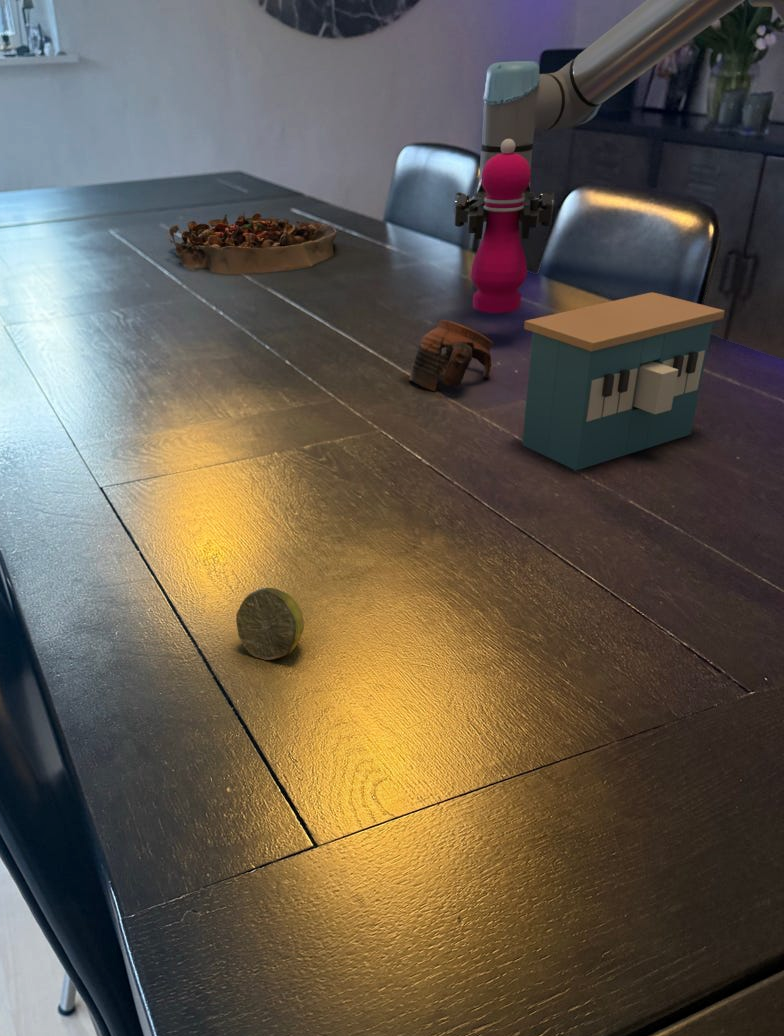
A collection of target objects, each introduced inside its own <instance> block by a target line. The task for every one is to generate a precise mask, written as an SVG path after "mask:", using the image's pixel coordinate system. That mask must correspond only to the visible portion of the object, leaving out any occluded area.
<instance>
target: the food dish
mask: <svg viewBox="0 0 784 1036" xmlns="http://www.w3.org/2000/svg"><path fill="white" fill-rule="evenodd" d="M245 214H246V213H245V212H243V215H242V214H239V215H238V217H237V218H236V221H235V222H234V223H232V224H230V223H229V221H228V219H227V217H228V214H226V213H225V214H224V217H223V218H222V219H221V218H216V219H210V220H208V221H207V222H208V223H202V222H201V223H197V222H196V221H195V220H192V221H189V222H188V223H187V229H188V231H187V230H184V231H182V232H181V237H180V238H181V240H182V242H177V241H176V239H175V234H177V233H178V231H180V226H179V225H174V226H171V227H170V228H169V229H168V231H169V235H170V237H171V238H172V239H171V238H170V237H169V236H168V235H167V234H165V237H166V238H167V240H168V241H169V242H170V243H171V244H174V247H175V252H176V257H177V258H178V259H179V263H180V264H181V265H182V267H183V268H185V269H188V270H189V271H194V272H195V270H196V269H208V270H209V272H212V273H214V274H223V275H245V274H266V273H267V274H268V273H276V272H286V271H293V270H299V269H304V268H305V269H306V268H311V267H312V266H314V265H316V264H318V263H320V262H323V261H326V260H327V259H329V258H332V257H333V256H334V242H335V239H336V236H337V235H338V230H337V229H336V228H335V227H333V226H330V225H329V224H326V223H321V222H315V221H302V220H298V221H295V223H296V224H298V226H295V225H294V224H292V223H290V222H291V220H290V219H288V218H285V219H284V220H281V218H262V215H261V213H259V212H256V213H255V212H254V214H252V216H251V217H247V218H246V216H245Z"/></svg>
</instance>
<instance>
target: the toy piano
mask: <svg viewBox="0 0 784 1036" xmlns="http://www.w3.org/2000/svg"><path fill="white" fill-rule="evenodd" d="M724 315H725V310H724V309H721V308H716V307H713V306H712V307H711V306H709V305H704V304H700V303H697V302H693V301H689V300H685V299H682V298H678V297H673V296H669V295H666V294H661V293H657V292H653V291H651V292H647V293H641V294H638V295H633V296H628V297H625V298H621V299H615V300H611V301H607V302H603V303H602V302H601V303H598V304H594V305H589V306H585V307H580V308H576V309H571V310H567V311H562V312H559V313H553V314H549V315H544V316H540V317H536V318H532V319H526V320H524V327H523V329H524V330H526V331H529V332H532V337H531V346H530V347H531V348H530V356H529V369H528V380H527V390H526V400H525V410H524V411H525V412H524V421H523V431H522V443H521V445H522V446H523V447H525V448H528V449H529V450H532V451H534V452H536V453H538V454H540V455H542V456H545V457H547V458H549V459H551V460H553V461H555V462H557V463H559V464H562V465H563V466H566V467H567V468H570V469H572V470H574V471H579V470H583V469H586V468H588V467H592V466H595V465H598V464H601V463H604V462H608V461H611V460H614V459H617V458H620V457H623V456H626V455H630V454H633V453H637V452H639V451H643V450H646V449H649V448H652V447H655V446H659V445H662V444H665V443H668V442H671V441H674V440H677V439H680V438H683V437H687V436H691V434H692V429H693V425H694V420H695V414H696V409H697V405H698V399H699V395H700V390H701V385H702V381H703V374H704V371H705V365H706V359H707V355H708V350H709V344H710V340H711V335H712V329H713V325H714V324H713V323H714V322H715V321H719V320H723V319H724ZM650 361H654V362H657V363H660V364H663V365H666V366H669V367H672V368H675V369H678V375H677V380H676V386H675V391H674V396H673V402H672V407H671V410H669V411H665V412H662V413H659V414H652V413H650V412H647V411H644V410H642V409H639V408H636V407H634V406H633V402H634V396H635V390H636V384H637V377H638V371H639V365H640V364H642V363H646V362H650Z"/></svg>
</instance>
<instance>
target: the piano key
mask: <svg viewBox="0 0 784 1036" xmlns="http://www.w3.org/2000/svg"><path fill="white" fill-rule="evenodd" d="M677 375H678V369H675V368H672V367H669V366H666V365H663V364H660V363H657V362H654V361H650V362H646V363H642V364H640V365H639V371H638V377H637V384H636V390H635V396H634V402H633V406H634V407H636V408H639V409H642V410H644V411H647V412H650V413H652V414H659V413H662V412H665V411H669V410H671V407H672V402H673V396H674V391H675V386H676V380H677Z"/></svg>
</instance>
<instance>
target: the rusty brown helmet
mask: <svg viewBox="0 0 784 1036" xmlns="http://www.w3.org/2000/svg"><path fill="white" fill-rule="evenodd" d="M493 346H494V342H493V341H492V340H491V339H489V338H488V337H487V336H485V335H483V334H482V333H479V332H478V331H476V330H473V329H472V328H470V327H468V326H465V325H462V324H460V323H458V322H455V321H452V320H451V321H450V320H448V319H439V320H438V321H437V325H436V327H435V328H433V329H431V330H429V331H428V332H426V334H425V335H423V337H422V339H421V340H420V341H419V346H418V348H417V349H416V354H415V359H414V361H413V362H412V364H411V366H410V374H409V376H410V377H409V378H408V380H409V381H410V382H412V383H414V384H415V385H418V386H419V387H422V388H424V389H426V390H429V391H432V392H436V391H437V388H438V383H439V382H440V379H441V381H442V383H443V384H444V385H445V386H447V387H457V386H460V385H461V384H462V381H463V380H464V377H465V373H466V370H467V369H468V368H469V366H470V363H471V362H472V360H473V359H474V360H477V361H478V362H479V363H480V364H481V365H482V366H483V367H484V368H483V372H482V373H483V374H482V378H483V379H487V378H488V377H489V375H490V373H491V368H492V355H491V348H492V347H493ZM442 349H445V353H442Z"/></svg>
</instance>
